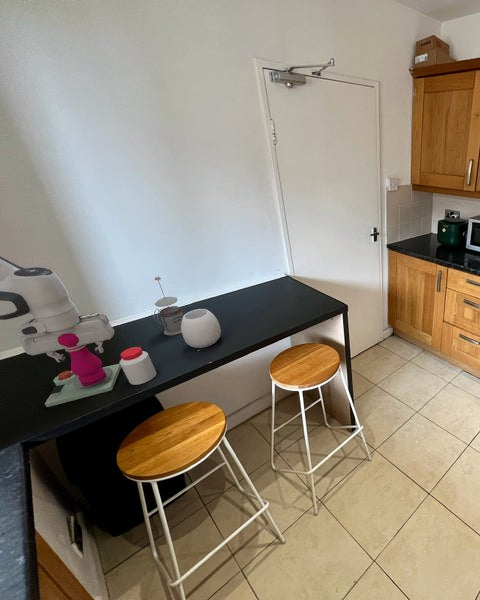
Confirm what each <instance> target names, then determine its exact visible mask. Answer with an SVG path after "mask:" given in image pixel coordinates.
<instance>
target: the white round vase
mask: <svg viewBox="0 0 480 600" xmlns="http://www.w3.org/2000/svg"><path fill="white" fill-rule="evenodd" d="M181 331H182V333H181V334H182V337H183V341H184V342H185V343H186V344H187V345H188V346H189V347H191V348H195V349H204V348H207V347H211V346H212V345H214V344H215V343H217V342H218V341H219V339H220V338H221V336H222V335H221V334H222V328H221V325H220V323H219V319H218V318H217V317H216V316H215V314H214V313H212V312H211V311H210V310H209V309H207V308H198V309H193V310H190V311H188V312H187V313H185V314H183V319H182V322H181Z"/></svg>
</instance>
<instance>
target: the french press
mask: <svg viewBox="0 0 480 600" xmlns="http://www.w3.org/2000/svg"><path fill="white" fill-rule="evenodd" d="M154 280H155V281H158V284H159V287H160V290H161V292H162V295H163V297H161V298H159V299H157V300H156V301H155V303H154V305H155V307H159V308H156V309H155V310H154V313H153V319H154V322H156V324H159V325H163V327H164V329H163V330H164V331H163V334H164V335H165V336H176V335H179V334H182V331H181V322H182V319H183V316H184V313H183V311H182V309H181V308H180V306H178V305H173V304H176V303H177V301H178V300H179V299H178V297H175V296H165V293H164V291H163V288H162V285H161V283H160V280H161V277H160V276H155V277H154ZM171 305H172V306H171ZM162 307H163V308H162ZM156 311H157V314H156ZM155 314H156V315H155ZM155 316H156V318H155ZM159 317H160V318H159ZM156 319H157V320H156ZM159 319H161V321H160V320H159Z"/></svg>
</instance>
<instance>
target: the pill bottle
mask: <svg viewBox="0 0 480 600" xmlns="http://www.w3.org/2000/svg"><path fill="white" fill-rule="evenodd" d="M120 357H121V358H120V360H119V364H120V365H121V369H122V371H123V373H124V375H125V377H126V379H127V380H128V383H129V384H130V385H133V386H135V385H136V386H137V385H142V384H146V383H147V382H150V381H151V380H152V379H154V378H155V377H156V376H157V371H156V368H155V365H154V364H153V361H152V359H151V356H150V355H149V352H147V351H145V350H143V349H142V347H140V346H134V347H129V348H127V349H125V350H123V351H122V352H121V353H120Z"/></svg>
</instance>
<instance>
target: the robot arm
mask: <svg viewBox="0 0 480 600" xmlns="http://www.w3.org/2000/svg"><path fill="white" fill-rule="evenodd" d="M69 293H70V292H69V291H68V289H67V287H66V286H65V284H64V282H63V281H62V280H61V278H60V277H59V276H58V274H57V273H56V272H55V271H53V270H51V269H50V268H46V267H39V266H37V267H35V266H34V267H26V268H25V267H23V266H20V265H18V264H16V263H14V262H12V261H10V260H9V259H6V258H4V257H2V256H0V320H1V321H6V320H12V319H15V318H19V317H23V316H24V315H28V314H29V315H32V316H33V318H30V319H28V320H26V321H25V322H23V323H22V324H21V325H20V326H19V327H18V328H17V330H16V334H17V335H18V336H20V338H19V342H20V343H19V344H20V345H21V347H22V349H23V351H24V352H25V353H26V354H27V355H30V356H37V355H41V354H46V355H47V356H48V357H50V358H53V359H55V361H56V363H61V362H65V361H67V360H66V359H67V358H66V356H65V354H64V353H62V354H60V353H58V352H56V351H61V350H65V348H68V347H66V346H62V345H60V344H59V343H58V339H57V338H58V337H59V336H60V335H63V334H67V333H72V334H76V336H77V337H78V338H79V342H78V343H77V344H76V345H77V346H78V345H85V344H86V345H89V344H94V343H95V345H97V346H95V348H94V352H95V354H96V355H98V354H103V353H104V348H103V344H104V341H107V340H108V341H109V340H111V339H112V338H113V337H114V335H115V329H114V327H113V326H112V324H111V323H110V320H109V318H108V316H107V315H106V314H104V313H100V312H93V313H89V314H80V313H81V312H80V311H79V310H78V308H77V306H76V304H75V303H74V302H73V300H71V299H70V294H69Z"/></svg>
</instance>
